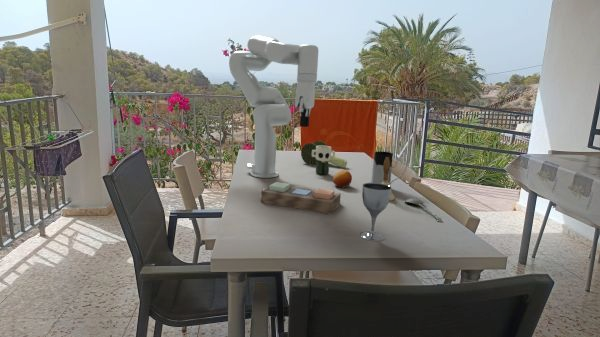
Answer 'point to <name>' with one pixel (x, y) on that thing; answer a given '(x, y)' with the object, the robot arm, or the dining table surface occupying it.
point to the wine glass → (375, 205)
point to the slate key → (301, 192)
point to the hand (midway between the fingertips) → (304, 126)
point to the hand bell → (386, 169)
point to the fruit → (342, 178)
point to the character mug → (323, 158)
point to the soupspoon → (420, 203)
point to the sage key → (279, 187)
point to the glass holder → (378, 167)
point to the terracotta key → (324, 193)
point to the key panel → (301, 200)
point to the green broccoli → (307, 154)
